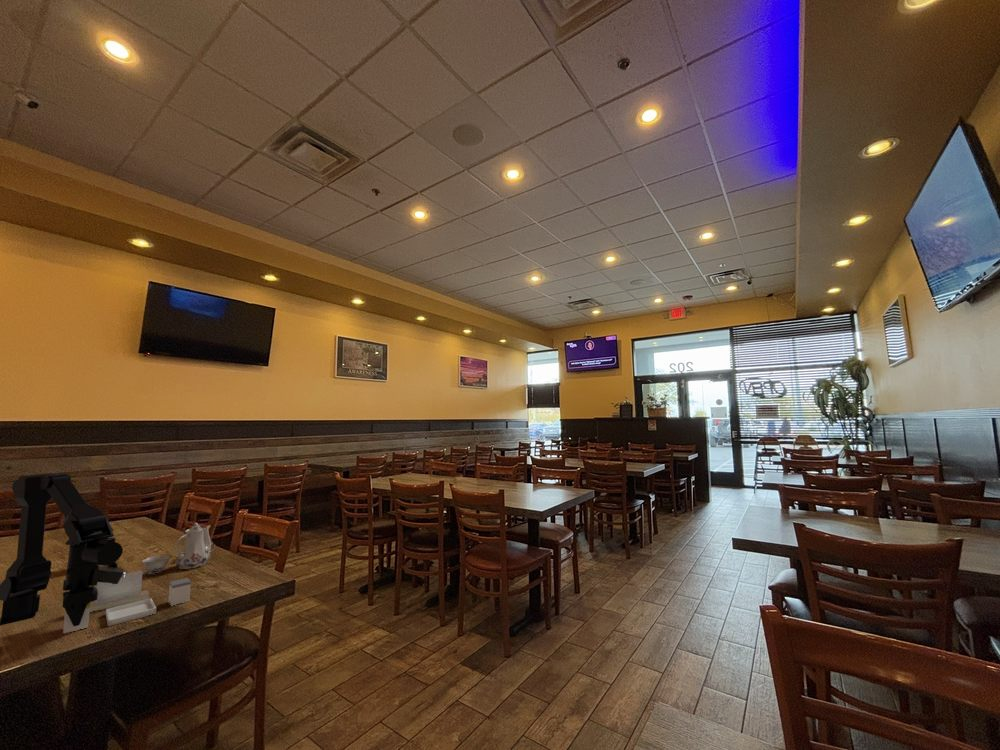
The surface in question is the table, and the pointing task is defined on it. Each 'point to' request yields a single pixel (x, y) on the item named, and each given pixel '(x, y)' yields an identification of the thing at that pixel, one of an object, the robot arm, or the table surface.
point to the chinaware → (184, 551)
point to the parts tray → (130, 611)
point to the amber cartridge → (83, 624)
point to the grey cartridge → (179, 591)
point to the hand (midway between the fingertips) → (76, 622)
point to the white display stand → (120, 592)
